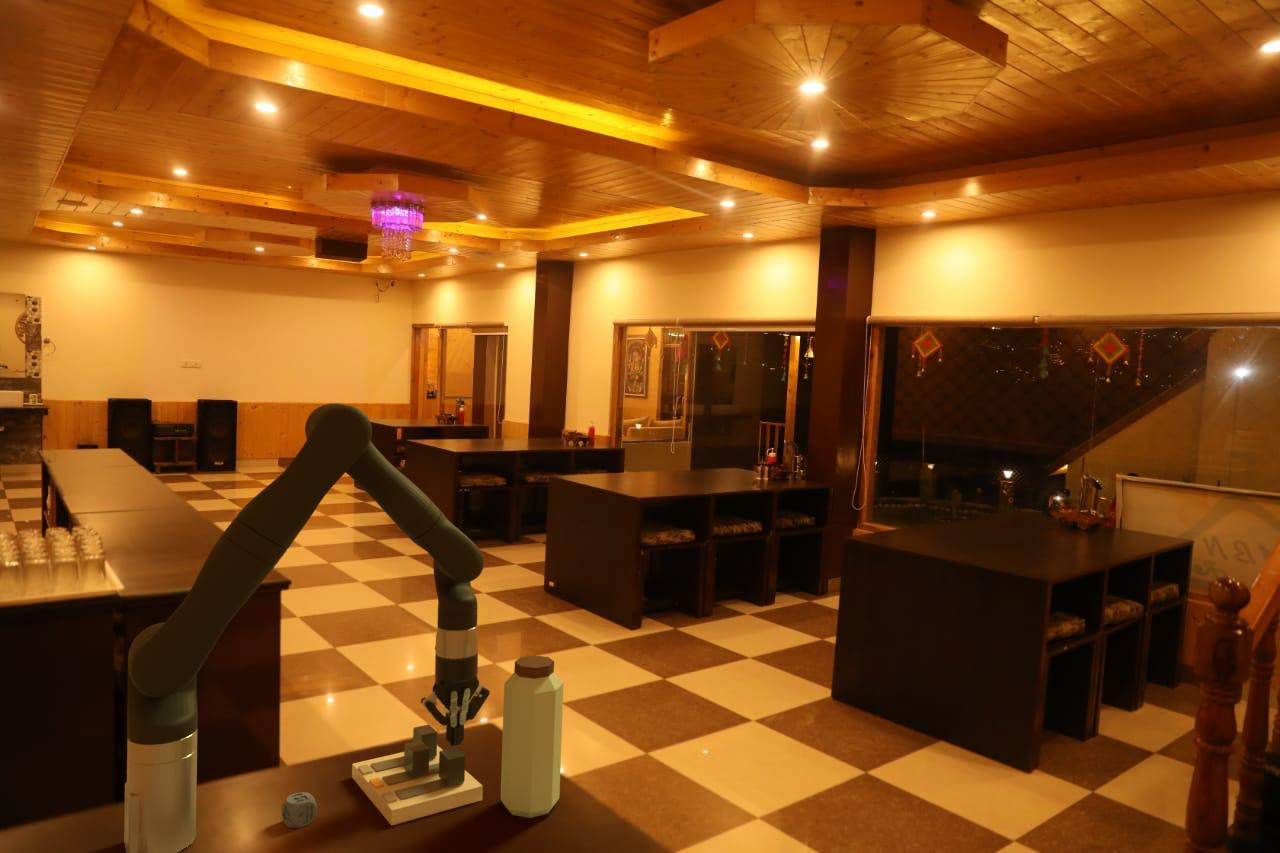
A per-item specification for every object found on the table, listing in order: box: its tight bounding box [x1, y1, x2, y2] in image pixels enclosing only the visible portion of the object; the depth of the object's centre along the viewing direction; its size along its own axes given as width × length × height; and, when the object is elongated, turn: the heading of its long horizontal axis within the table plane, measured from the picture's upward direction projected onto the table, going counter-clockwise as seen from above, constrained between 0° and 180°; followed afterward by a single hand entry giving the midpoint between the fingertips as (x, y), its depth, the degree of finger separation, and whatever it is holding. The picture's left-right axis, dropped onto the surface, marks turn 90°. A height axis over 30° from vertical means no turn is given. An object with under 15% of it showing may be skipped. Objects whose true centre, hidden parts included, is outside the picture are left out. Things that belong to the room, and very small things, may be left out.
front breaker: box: [439, 747, 466, 786], centre depth 147 cm, size 3×4×4 cm
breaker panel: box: [351, 744, 484, 826], centre depth 149 cm, size 16×20×3 cm
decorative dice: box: [280, 791, 318, 829], centre depth 137 cm, size 4×4×4 cm
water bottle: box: [500, 654, 564, 819], centre depth 144 cm, size 10×10×25 cm
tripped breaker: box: [403, 740, 429, 778], centre depth 149 cm, size 3×4×4 cm
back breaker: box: [412, 724, 438, 758], centre depth 156 cm, size 3×4×4 cm
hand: (454, 744), depth 153 cm, fingers closed
